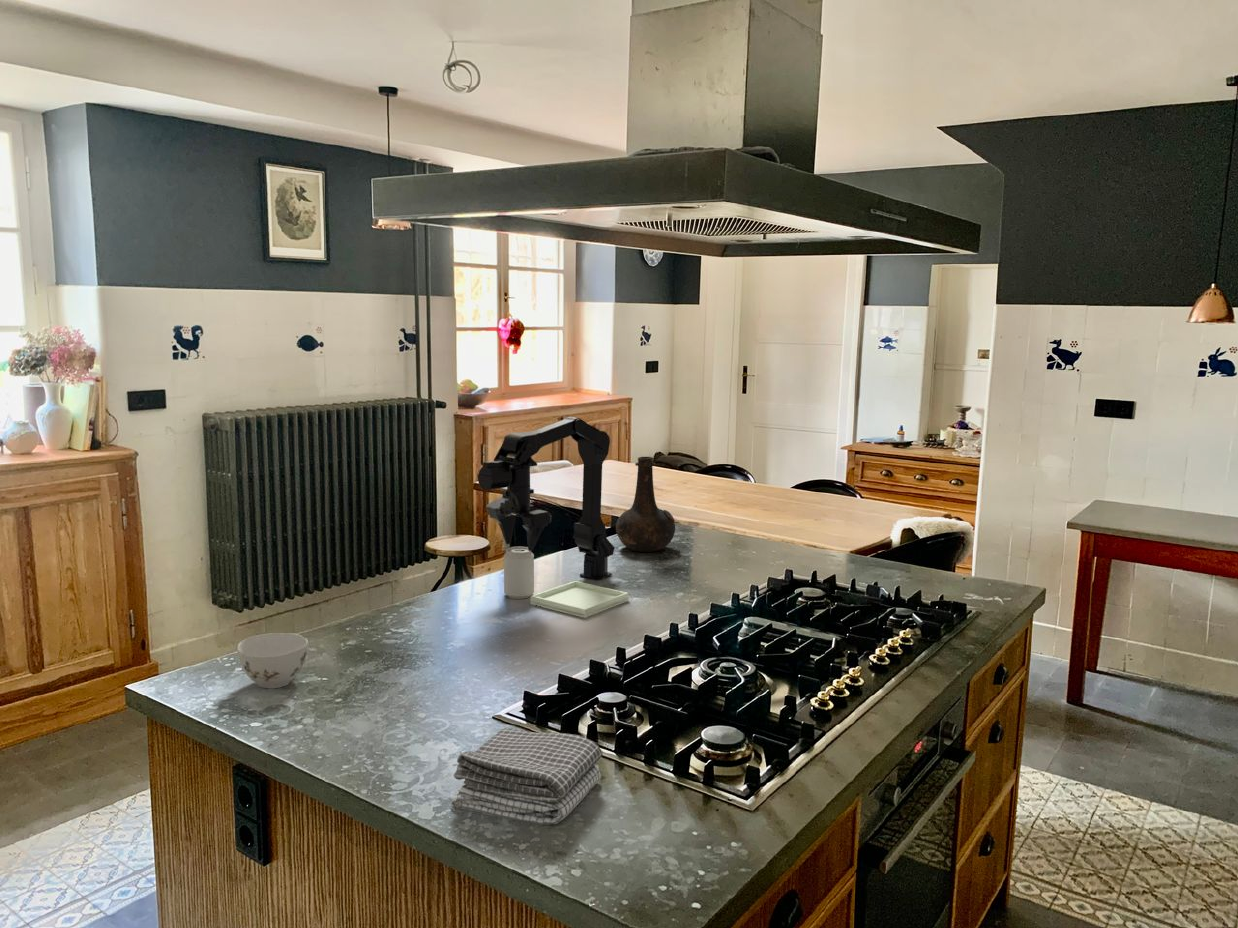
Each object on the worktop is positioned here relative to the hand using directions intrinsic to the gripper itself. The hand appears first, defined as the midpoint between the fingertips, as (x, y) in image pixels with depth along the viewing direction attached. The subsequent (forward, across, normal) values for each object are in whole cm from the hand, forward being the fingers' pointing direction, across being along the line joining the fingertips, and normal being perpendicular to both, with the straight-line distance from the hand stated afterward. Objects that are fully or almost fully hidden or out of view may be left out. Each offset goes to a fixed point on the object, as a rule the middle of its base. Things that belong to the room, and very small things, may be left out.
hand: (519, 547), depth 231 cm
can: (+13, 0, 0) cm, 13 cm away
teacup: (+12, +14, -68) cm, 70 cm away
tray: (+12, +14, +7) cm, 20 cm away
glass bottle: (+13, -13, +58) cm, 60 cm away
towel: (+13, +79, -59) cm, 99 cm away
